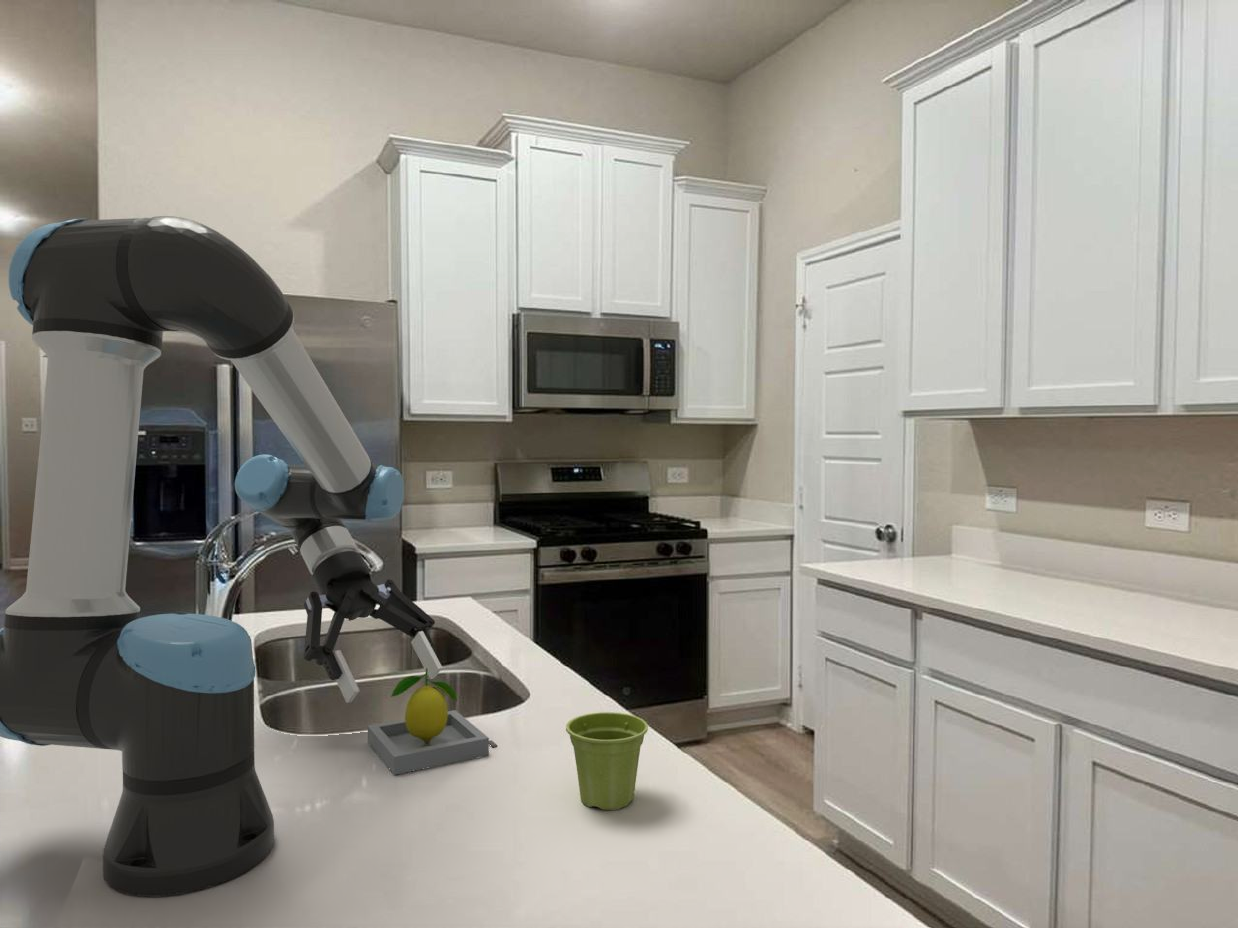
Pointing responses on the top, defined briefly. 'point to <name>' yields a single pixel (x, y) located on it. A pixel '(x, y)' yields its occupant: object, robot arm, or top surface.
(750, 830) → the top surface
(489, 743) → the perforation strip
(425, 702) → the lemon
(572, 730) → the plant pot
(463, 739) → the dish
